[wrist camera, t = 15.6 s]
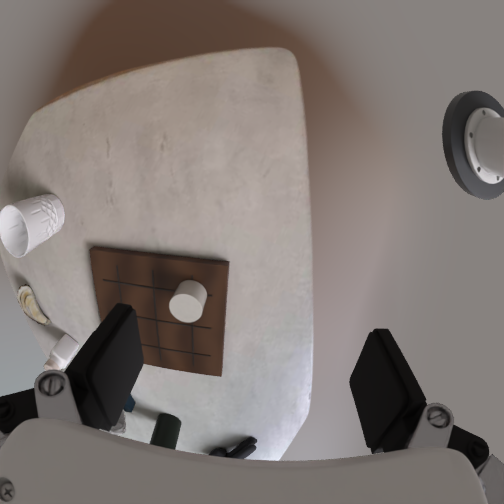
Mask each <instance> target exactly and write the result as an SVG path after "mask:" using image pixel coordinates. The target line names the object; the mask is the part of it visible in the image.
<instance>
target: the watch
mask: <svg viewBox="0 0 504 504" xmlns="http://www.w3.org/2000/svg"><path fill="white" fill-rule="evenodd" d="M134 405H135V401H134V399H133V398H132V396H131V394H130V395H129V397H128V399H127V402H126V404H125V406H124V409H123V411H122V413H121V415H120V418H119V420H118V422H117V424H116V426H112V427H111V430H110V432H108V431H105V430H103V431H105V432H108V433H111V434H114V435H120V434H123V433H124V432H126V429H125V427H126V423H125V417H124V416H125V412H132V410H133V408H134ZM124 411H125V412H124ZM121 418H122V419H121Z"/></svg>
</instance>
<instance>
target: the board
mask: <svg viewBox="0 0 504 504" xmlns="http://www.w3.org/2000/svg"><path fill="white" fill-rule="evenodd" d="M90 258H91V266H92V273H93V279H94V285H95V291H96V297H97V302H98V307H99V312H100V317H101V322H102V321H103V320H104V319H105V317H106V316H107V315H108V314H109V312H110V311H111V310H112V308H113V307H114V306H115V305H116V304H117V303H124V304H129V305H131V306H132V308H133V309H135V310H136V314H137V321H138V328H139V334H140V340H141V346H142V351H143V357H144V363H143V364H147V365H152V366H157V367H162V368H168V369H173V370H179V371H185V372H191V373H198V374H205V375H212V376H220V377H221V376H222V368H223V350H224V333H225V318H226V303H227V288H228V275H229V262H227V261H218V260H209V259H200V258H191V257H182V256H173V255H164V254H156V253H147V252H138V251H130V250H122V249H113V248H105V247H97V246H94V247H92V248H91V249H90ZM186 280H194V281H197V282H199V283H200V284H202V285H203V287H204V288H205V290H206V292H207V299H206V303H205V306H204V309H203V312H202V315H201V317H200V318H199V319H198V320H196V321H194V322H182V321H180V320H178V319H177V318H175V317H174V316H173V315H172V313H171V311H170V308H169V303H170V300H171V298H172V296H173V294H174V293H175V291H176V289H177V287H178V285H179V284H180V283H181V282H183V281H186Z"/></svg>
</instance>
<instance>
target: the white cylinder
mask: <svg viewBox="0 0 504 504" xmlns="http://www.w3.org/2000/svg"><path fill="white" fill-rule="evenodd" d="M206 299H207V292H206V290H205V288H204V287H203V285H202V284H200V283H199V282H197V281H194V280H186V281H183V282H181V283H180V284H179V285H178V287H177V289H176V291H175V293H174V294H173V296H172V298H171V300H170V303H169V308H170V311H171V313H172V315H173V316H174V317H175V318H177V319H178V320H180V321H182V322H194V321H196V320H198V319H199V318H200V317H201V315H202V312H203V309H204V306H205V303H206Z"/></svg>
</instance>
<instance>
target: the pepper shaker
mask: <svg viewBox="0 0 504 504" xmlns="http://www.w3.org/2000/svg"><path fill="white" fill-rule="evenodd" d="M78 346H79V344H78V343H77V342H76V341H75V340H74V339H72V338H71V337H70V336H69V335H67V334H65V335H63V337H62V338H61V339H60V340H59V342H58V343H57V344H56V345H55V346H54V348H53V349H52V350H51V353H50V359H48V361H47V362H46V363H45V364H44V369H45V370H46V371H47V370H52V369H55V370H60V369H61V368H62V369H65V367H66V366H67V364H68V363H69V362H70V360H71V359H72V357H73V356H74V355H75V353H76V351H77V349H78Z"/></svg>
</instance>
